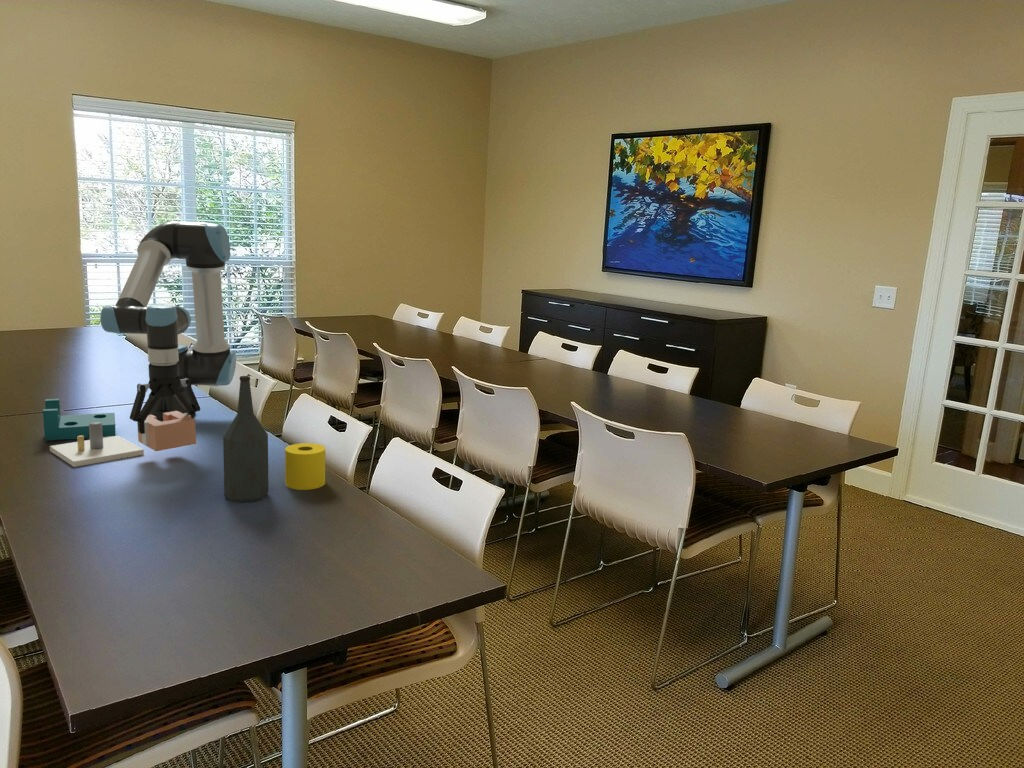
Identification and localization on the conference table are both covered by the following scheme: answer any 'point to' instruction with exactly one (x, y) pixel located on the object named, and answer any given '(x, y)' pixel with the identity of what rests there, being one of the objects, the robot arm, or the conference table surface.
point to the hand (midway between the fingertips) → (167, 440)
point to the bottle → (245, 452)
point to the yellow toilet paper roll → (304, 466)
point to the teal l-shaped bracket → (73, 422)
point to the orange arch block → (170, 431)
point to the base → (98, 454)
